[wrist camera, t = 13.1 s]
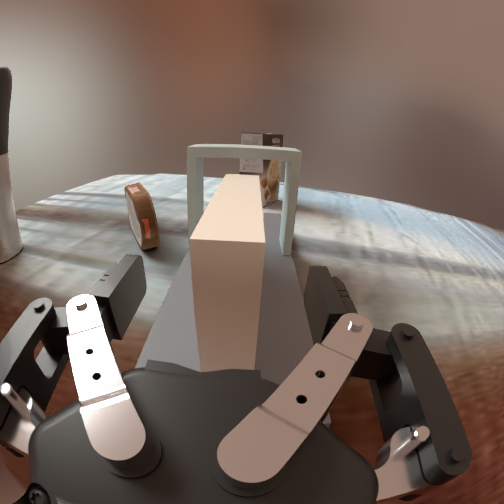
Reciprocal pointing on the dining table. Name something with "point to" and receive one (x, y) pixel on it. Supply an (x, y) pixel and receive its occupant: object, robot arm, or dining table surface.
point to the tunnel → (250, 152)
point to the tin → (142, 216)
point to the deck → (270, 317)
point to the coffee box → (263, 165)
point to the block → (228, 274)
